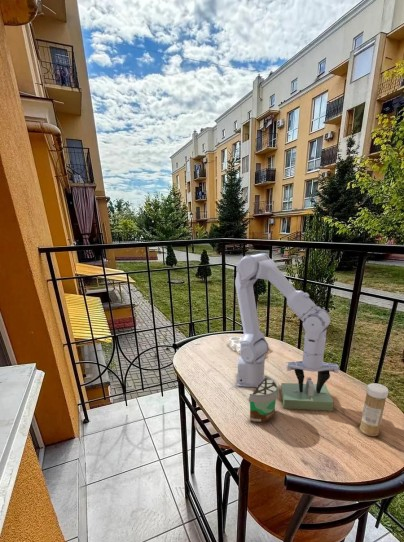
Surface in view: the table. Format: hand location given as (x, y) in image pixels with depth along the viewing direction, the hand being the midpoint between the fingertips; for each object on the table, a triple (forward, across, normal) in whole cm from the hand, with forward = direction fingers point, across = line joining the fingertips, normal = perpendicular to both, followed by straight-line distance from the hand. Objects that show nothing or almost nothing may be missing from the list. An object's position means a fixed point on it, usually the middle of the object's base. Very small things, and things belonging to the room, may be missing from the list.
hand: (309, 391), depth 87 cm
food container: (+4, +13, +10) cm, 17 cm away
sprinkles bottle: (+4, -13, +13) cm, 19 cm away
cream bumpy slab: (+4, +20, -39) cm, 44 cm away
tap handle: (0, 0, 0) cm, 0 cm away
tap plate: (+3, +1, 0) cm, 4 cm away
